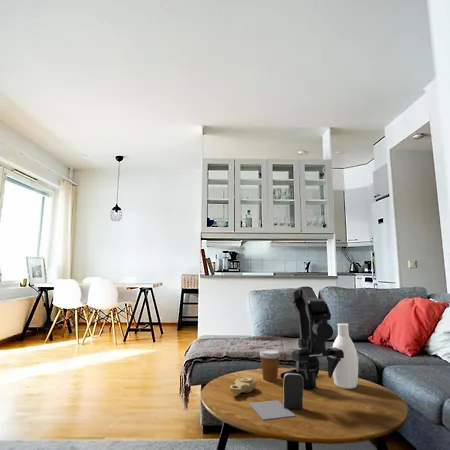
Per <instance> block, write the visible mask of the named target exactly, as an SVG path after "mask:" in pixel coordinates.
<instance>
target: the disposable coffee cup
mask: <svg viewBox="0 0 450 450" xmlns="http://www.w3.org/2000/svg"><path fill="white" fill-rule="evenodd" d="M280 357H281V353H280V351H279V350H277V349H269V348H267V349H261V350H260V352H259V358H260V365H261V373H262V380H264V381H267V382H275V381H277V380H278V373H279V363H280Z"/></svg>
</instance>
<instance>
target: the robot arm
mask: <svg viewBox="0 0 450 450" xmlns="http://www.w3.org/2000/svg"><path fill="white" fill-rule="evenodd" d="M291 302H292V305H293V308H294V310H295V312H296V313H297V316H298V317H297V318H298V329H299V339H297V340H298V341H297V342H298V343H297V345H298V348H299V349H294V350H293V351H292V352H291V357H292V359H294V360H296V362H295V370H296V372H297V373H298V374H300V375H301V376H302V377H303V391H306V390H307V391H309V390H317V389H319V387H318V386H317V381H316V378H317V376H316V374H319V370H320V363H321V362H320V361H319V358H318V357H320V358H321V357H326V360H327V374H328V378H329V379H331V378H332V377H333V372H334V370H335V368H336V366H337V364H338V362H339V361H341V359H340V358H344V352H343V351H342V350H341V349H338V348H335V347H334V348H332V347H327V346H326V345H327V344H326V342H328V340H330V339H331V338H332V337H333V334H334V329H333V327H332V325H331V324H330V323H328V321H331V320H332V319H331V318H332V314H331V311H330V308H329V306H328V304H327V303H326V301H325V300H324V299H323V298H318V297H317V295H316V294H315V293H314V291H313V290H312V286H311V287H310V286H301V287H298V289H296V290H295V291H293V292H292V296H291Z"/></svg>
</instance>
